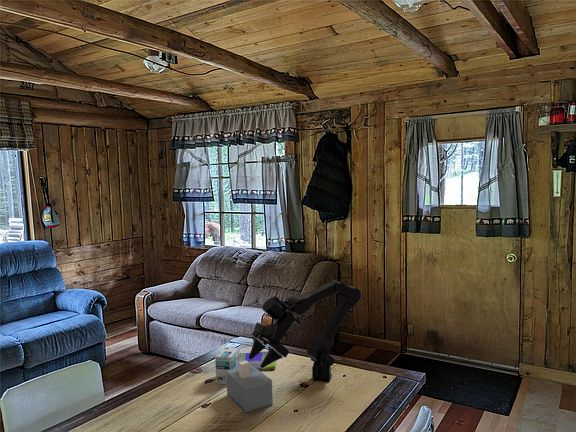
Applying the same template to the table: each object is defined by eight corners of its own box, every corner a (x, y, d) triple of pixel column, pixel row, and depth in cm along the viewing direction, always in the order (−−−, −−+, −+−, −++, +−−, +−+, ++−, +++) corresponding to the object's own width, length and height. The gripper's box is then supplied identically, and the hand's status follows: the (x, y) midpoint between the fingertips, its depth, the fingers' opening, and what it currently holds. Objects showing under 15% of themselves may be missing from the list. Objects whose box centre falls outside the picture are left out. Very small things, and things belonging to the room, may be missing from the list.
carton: (252, 388, 170) (251, 367, 169) (272, 405, 156) (271, 382, 156) (227, 395, 165) (226, 373, 164) (246, 413, 151) (245, 390, 151)
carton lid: (251, 366, 170) (250, 351, 169) (272, 382, 156) (271, 366, 155) (226, 373, 165) (225, 357, 164) (245, 390, 150) (245, 373, 150)
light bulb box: (232, 385, 173) (231, 357, 172) (215, 384, 175) (214, 356, 174) (240, 373, 184) (239, 347, 183) (224, 372, 185) (223, 346, 184)
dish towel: (275, 372, 185) (275, 365, 185) (215, 373, 185) (215, 366, 185) (277, 356, 202) (277, 349, 202) (222, 357, 203) (222, 351, 203)
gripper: (255, 308, 171) (229, 342, 166) (280, 320, 155) (252, 359, 150) (274, 325, 175) (249, 359, 170) (300, 338, 159) (273, 376, 154)
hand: (255, 362), depth 161 cm, fingers open, 9 cm apart
